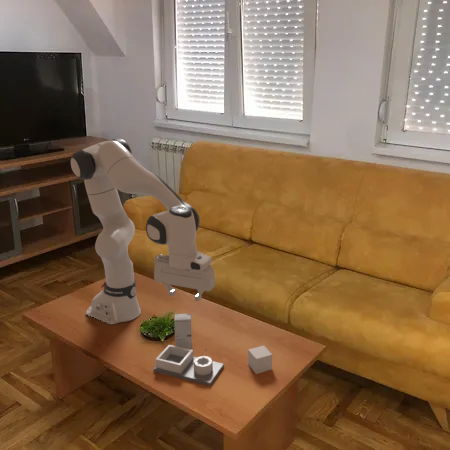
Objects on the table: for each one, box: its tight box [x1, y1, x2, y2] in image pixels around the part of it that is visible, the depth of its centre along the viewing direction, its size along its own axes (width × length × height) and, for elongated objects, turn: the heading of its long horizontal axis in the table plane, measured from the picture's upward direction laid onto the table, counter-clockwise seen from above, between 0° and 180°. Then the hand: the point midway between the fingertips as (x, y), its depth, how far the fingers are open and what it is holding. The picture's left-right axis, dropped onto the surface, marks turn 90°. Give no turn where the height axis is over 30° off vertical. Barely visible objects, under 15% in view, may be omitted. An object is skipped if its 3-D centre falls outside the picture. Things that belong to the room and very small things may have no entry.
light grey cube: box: [247, 345, 273, 375], centre depth 173 cm, size 6×6×6 cm
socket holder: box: [153, 344, 225, 387], centre depth 173 cm, size 21×11×4 cm, turn 67°
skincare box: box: [173, 313, 193, 350], centre depth 185 cm, size 6×4×12 cm
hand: (184, 297), depth 164 cm, fingers open, 8 cm apart
